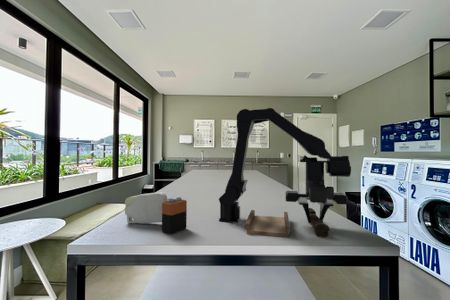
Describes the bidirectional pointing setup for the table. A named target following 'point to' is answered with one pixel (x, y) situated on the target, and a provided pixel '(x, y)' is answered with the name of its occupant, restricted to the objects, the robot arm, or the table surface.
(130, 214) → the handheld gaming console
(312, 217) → the hand tool
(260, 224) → the tool cradle
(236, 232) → the table surface
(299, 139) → the robot arm
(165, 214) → the battery
